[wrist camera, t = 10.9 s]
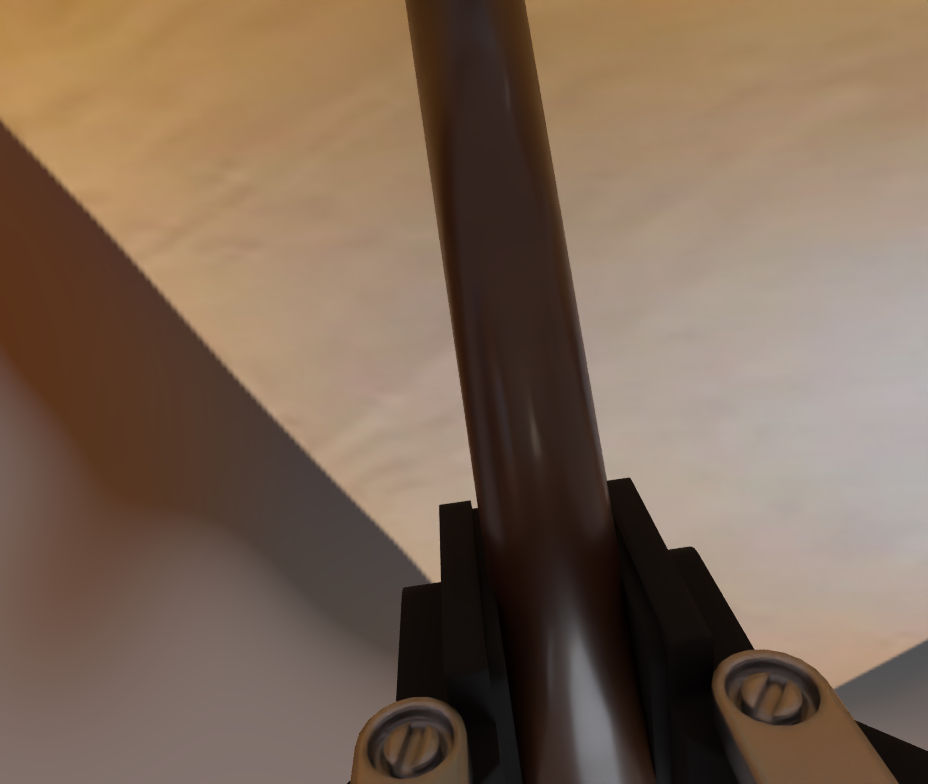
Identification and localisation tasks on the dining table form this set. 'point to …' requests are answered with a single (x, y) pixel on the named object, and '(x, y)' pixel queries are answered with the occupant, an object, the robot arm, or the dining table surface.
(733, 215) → the dining table surface
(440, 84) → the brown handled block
